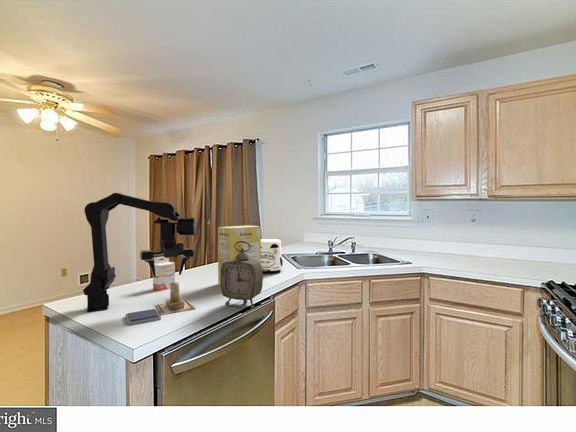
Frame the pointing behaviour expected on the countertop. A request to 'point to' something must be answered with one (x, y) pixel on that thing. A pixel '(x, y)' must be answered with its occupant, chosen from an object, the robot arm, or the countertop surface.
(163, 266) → the ink cartridge box
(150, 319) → the ink pad
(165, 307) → the marked card
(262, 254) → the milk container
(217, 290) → the countertop surface
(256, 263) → the tabletop clock
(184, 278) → the countertop surface
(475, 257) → the countertop surface
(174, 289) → the stamp
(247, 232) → the pasta box
